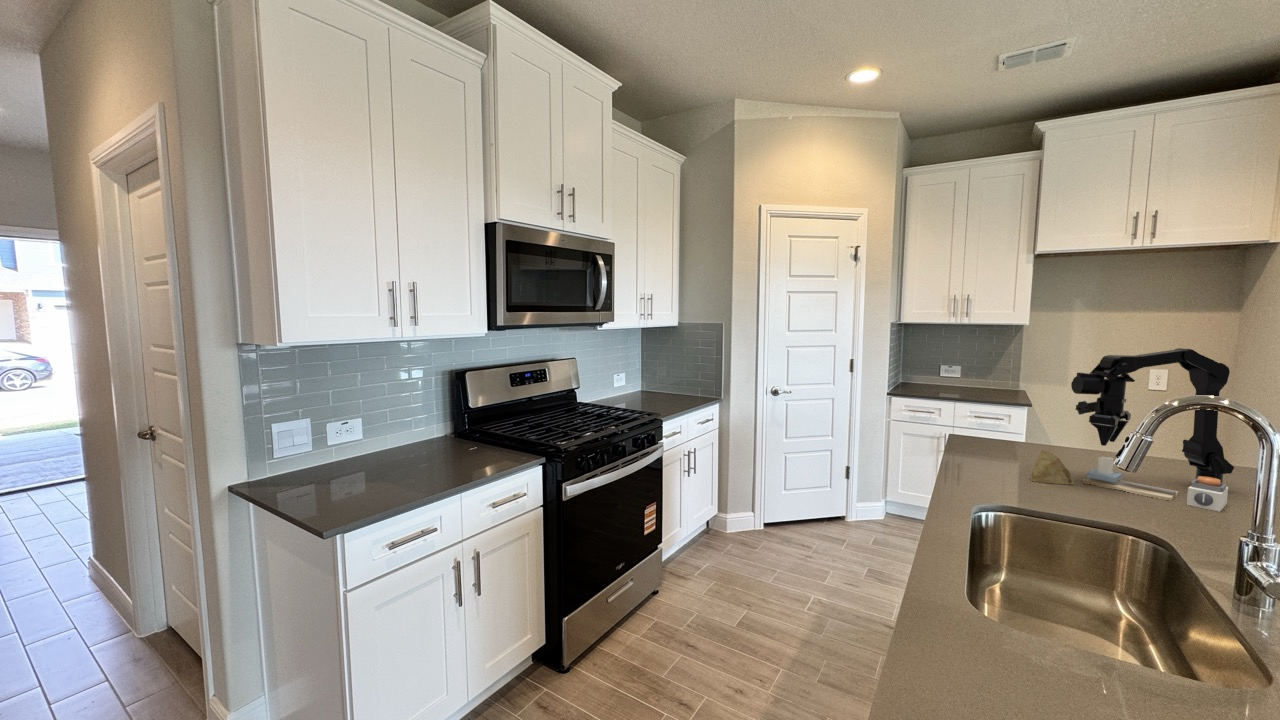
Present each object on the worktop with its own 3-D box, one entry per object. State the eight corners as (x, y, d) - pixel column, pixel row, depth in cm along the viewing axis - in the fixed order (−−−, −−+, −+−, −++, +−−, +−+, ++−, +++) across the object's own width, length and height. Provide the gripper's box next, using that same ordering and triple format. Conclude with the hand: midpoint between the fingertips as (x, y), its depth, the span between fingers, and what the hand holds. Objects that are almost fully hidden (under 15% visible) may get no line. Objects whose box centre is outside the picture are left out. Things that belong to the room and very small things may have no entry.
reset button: (1198, 480, 151) (1199, 475, 150) (1221, 484, 147) (1221, 479, 147) (1195, 482, 148) (1196, 478, 148) (1218, 486, 144) (1218, 482, 144)
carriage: (1094, 472, 172) (1096, 453, 171) (1122, 477, 166) (1124, 458, 165) (1086, 476, 167) (1088, 457, 166) (1115, 482, 161) (1116, 462, 161)
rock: (1080, 476, 167) (1044, 464, 175) (1079, 458, 163) (1042, 447, 171) (1065, 500, 164) (1028, 487, 172) (1063, 483, 160) (1026, 470, 168)
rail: (1093, 477, 173) (1093, 472, 172) (1178, 494, 156) (1178, 488, 156) (1083, 483, 167) (1083, 477, 167) (1170, 501, 151) (1170, 495, 150)
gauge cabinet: (1194, 497, 154) (1196, 477, 153) (1226, 504, 148) (1228, 483, 148) (1186, 505, 148) (1188, 484, 147) (1219, 512, 142) (1221, 490, 142)
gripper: (1089, 389, 176) (1084, 434, 177) (1070, 394, 165) (1066, 442, 166) (1133, 394, 167) (1128, 441, 168) (1117, 398, 156) (1112, 449, 157)
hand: (1107, 443), depth 165 cm, fingers open, 9 cm apart
